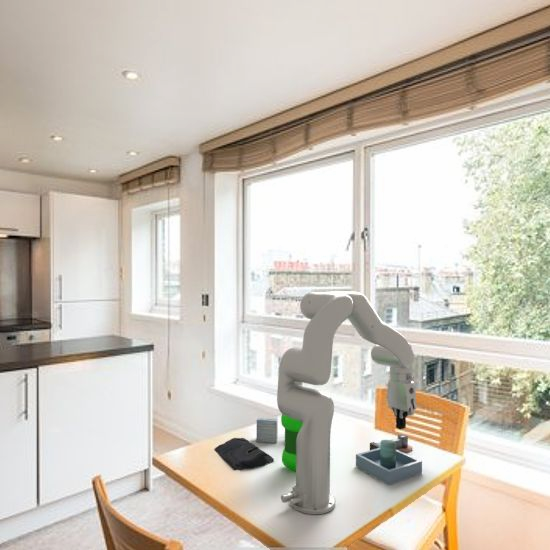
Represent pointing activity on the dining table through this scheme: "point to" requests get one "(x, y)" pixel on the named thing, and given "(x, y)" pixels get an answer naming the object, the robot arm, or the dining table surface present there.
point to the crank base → (406, 449)
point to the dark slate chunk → (242, 454)
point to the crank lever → (400, 441)
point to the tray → (403, 470)
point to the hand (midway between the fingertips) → (400, 427)
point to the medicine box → (267, 429)
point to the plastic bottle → (290, 441)
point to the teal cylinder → (388, 454)
